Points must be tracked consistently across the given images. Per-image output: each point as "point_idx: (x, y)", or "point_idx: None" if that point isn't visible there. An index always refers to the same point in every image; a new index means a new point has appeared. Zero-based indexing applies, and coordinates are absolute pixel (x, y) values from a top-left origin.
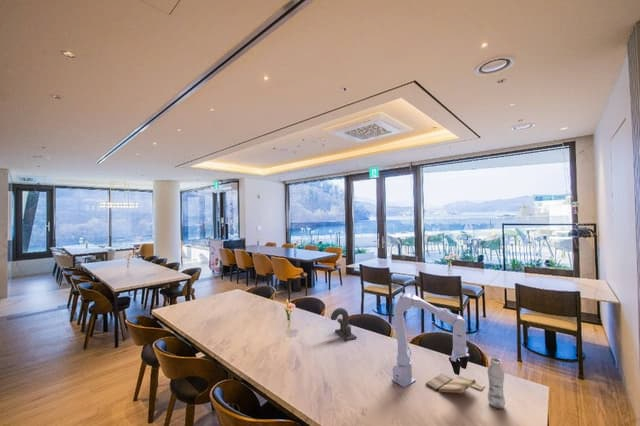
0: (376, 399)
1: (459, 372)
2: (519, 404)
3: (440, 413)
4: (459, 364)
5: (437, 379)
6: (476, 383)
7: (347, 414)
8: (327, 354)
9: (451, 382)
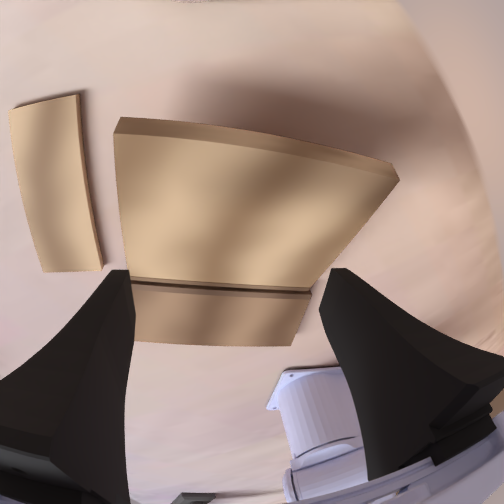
0: None
1: (358, 283)
2: None
3: (456, 204)
4: (495, 359)
5: (210, 330)
6: (28, 156)
7: (494, 346)
8: None
9: (192, 270)
